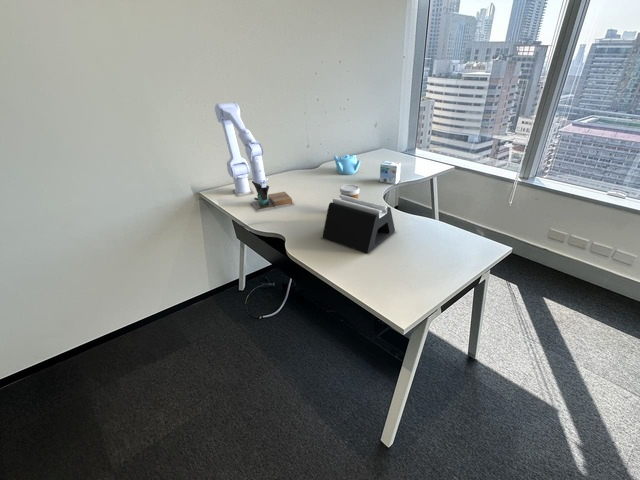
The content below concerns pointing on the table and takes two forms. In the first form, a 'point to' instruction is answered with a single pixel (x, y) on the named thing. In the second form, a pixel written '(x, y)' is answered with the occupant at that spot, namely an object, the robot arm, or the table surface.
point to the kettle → (260, 201)
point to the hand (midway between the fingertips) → (262, 197)
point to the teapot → (347, 164)
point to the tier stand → (274, 200)
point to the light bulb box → (389, 172)
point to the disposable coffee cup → (350, 191)
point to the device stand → (358, 223)
